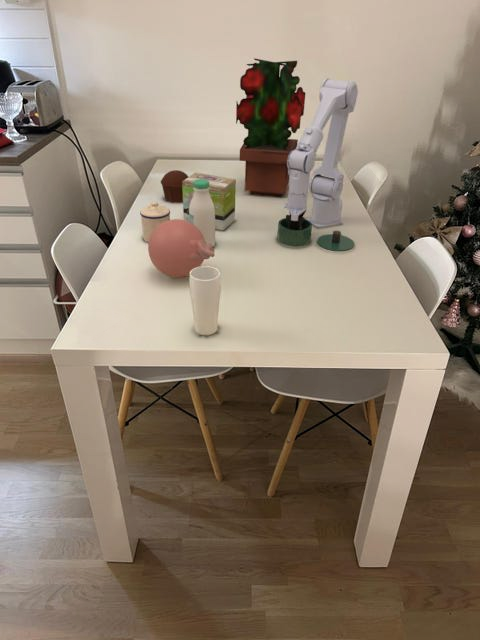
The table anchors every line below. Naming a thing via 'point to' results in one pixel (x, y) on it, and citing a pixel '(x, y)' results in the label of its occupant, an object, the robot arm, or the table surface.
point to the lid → (335, 242)
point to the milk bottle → (203, 210)
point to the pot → (294, 234)
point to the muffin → (173, 186)
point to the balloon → (178, 248)
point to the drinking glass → (205, 298)
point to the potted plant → (269, 124)
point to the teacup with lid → (153, 218)
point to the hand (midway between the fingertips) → (294, 233)
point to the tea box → (213, 197)
